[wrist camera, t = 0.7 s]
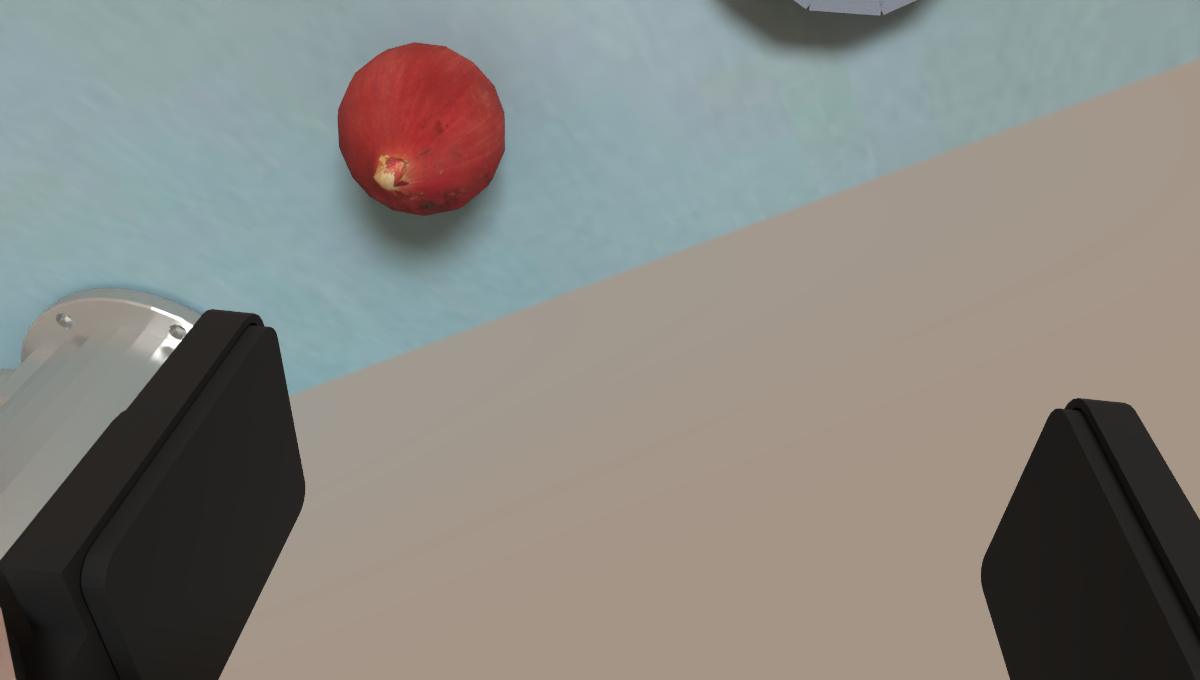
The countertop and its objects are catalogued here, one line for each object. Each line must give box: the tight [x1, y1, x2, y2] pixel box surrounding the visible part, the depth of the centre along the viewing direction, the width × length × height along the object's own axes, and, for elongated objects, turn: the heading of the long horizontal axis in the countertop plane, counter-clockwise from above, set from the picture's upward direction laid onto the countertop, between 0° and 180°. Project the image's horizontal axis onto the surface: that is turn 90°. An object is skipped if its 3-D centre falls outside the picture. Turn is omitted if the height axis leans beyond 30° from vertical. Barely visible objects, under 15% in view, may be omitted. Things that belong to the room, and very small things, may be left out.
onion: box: [338, 42, 505, 215], centre depth 32 cm, size 6×6×8 cm
